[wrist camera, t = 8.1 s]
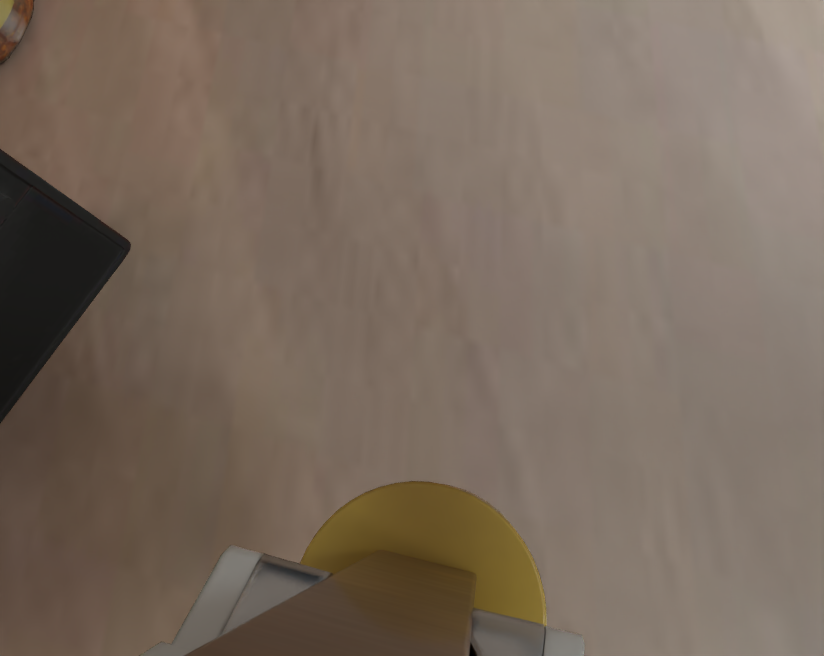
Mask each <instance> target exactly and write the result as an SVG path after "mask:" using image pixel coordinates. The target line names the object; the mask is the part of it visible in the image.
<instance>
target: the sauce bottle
mask: <svg viewBox="0 0 824 656" xmlns="http://www.w3.org/2000/svg"><path fill="white" fill-rule="evenodd" d="M33 2H34V0H0V63H2V62H3V61H5V60H7V59H8V58H9V57H10V54H11V53H12V52H13V50H14V49H15V48H16V46H17V45H18V44H19V42H20V40H21V39H22V37H23V34H24V32H25V30H26V29H27V27H28V24H29V22H30V20H31V18H32V13H33V10H34V4H33Z"/></svg>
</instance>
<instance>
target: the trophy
mask: <svg viewBox="0 0 824 656" xmlns="http://www.w3.org/2000/svg"><path fill="white" fill-rule="evenodd" d="M300 564H303V565H306V566H310V567H314V568H317V569H321V570H325V571H328V572H332V573H333V575H332V576H330V577H328V578H326V579H324V580H322V581H321V582H319V583H317V584H315V585H313V586H311V587H310V588H308V589H306V590H304V591H302V592H300V593H298V594H297V595H295V596H293V597H291V598H289V599H287V600H286V601H284V602H282V603H280V604H278V605H276V606H274V607H273V608H271V609H269V610H267V611H265V612H263V613H262V614H260V615H258V616H256V617H254V618H252V619H250V620H249V621H247V622H245V623H243V624H241V625H239V626H238V627H236V628H234V629H232V630H230V631H228V632H226V633H225V634H223V635H221V636H219V637H217V638H215V639H214V640H212V641H210V642H208V643H206V644H204V645H202V646H201V647H199V648H197V649H195V650H193V651H191V652H190V653H188V654H186V655H184V656H469V652H470V642H471V632H472V609H473V608H478V609H482V610H486V611H490V612H494V613H498V614H503V615H507V616H511V617H515V618H519V619H523V620H528V621H532V622H536V623H540V624H544V627H545V626H547V621H546V602H545V595H544V589H543V586H542V582H541V578H540V574H539V572H538V569H537V567H536V564H535V562H534V559H533V557H532V555H531V553H530V551H529V550H528V548H527V546H526V544H525V542H524V541H523V540H522V538H521V537H520V535H519V534H518V533H517V531H516V530H515V529H514V527H513V526H512V525H511V524H510V522H509V521H508V520H507V519H506V518H505V517H504V516H503V515H502V514H501V513H500V512H499V511H498V510H497V509H496V508H494V507H493V506H492V505H491V504H490V503H488V502H487V501H485V500H483V499H482V498H480V497H479V496H477V495H475V494H473V493H471V492H468V491H466V490H464V489H460V488H457V487H454V486H450V485H445V484H439V483H433V482H422V481H409V482H400V483H393V484H389V485H385V486H381V487H378V488H376V489H373V490H370V491H368V492H365V493H363V494H362V495H360V496H358V497H356V498H354V499H353V500H351V501H349V502H348V503H347V504H345V505H344V506H343V507H341V508H340V509H339V510H337V511H336V512H335V513H334V514H333V515H332V516H331V517H330V518H329V519H328V520H327V521H326V522H325V523H324V524H323V526H322V527H321V528H320V529H319V531H318V532H317V533H316V534H315V536H314V538H313V539H312V541H311V542H310V544H309V546H308V547H307V549H306V551H305V553H304V556H303V558H302V560H301V562H300Z"/></svg>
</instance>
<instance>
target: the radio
mask: <svg viewBox="0 0 824 656" xmlns="http://www.w3.org/2000/svg"><path fill="white" fill-rule="evenodd" d="M130 246H131V244H130V242H129V241H128V240H127V239H126V238H124V237H123V236H121V235H120V234H119V233H117V232H116V231H114V230H113V229H112V228H110V227H109V226H107V225H106V224H105V223H103V222H102V221H100V220H99V219H98V218H96V217H95V216H93V215H92V214H91V213H89V212H88V211H86V210H85V209H84V208H82V207H81V206H79V205H78V204H77V203H75V202H74V201H72V200H71V199H70V198H68V197H67V196H65V195H64V194H63V193H61V192H60V191H58V190H57V189H56V188H54V187H53V186H51V185H50V184H49V183H47V182H46V181H44V180H43V179H42V178H40V177H39V176H37V175H36V174H35V173H33V172H32V171H30V170H29V169H28V168H26V167H25V166H23V165H22V164H21V163H19V162H18V161H16V160H15V159H14V158H12V157H11V156H9V155H8V154H7V153H5V152H4V151H2V150H1V149H0V423H1V422H2V420H3V419H4V418H5V416H6V415H7V414H8V412H9V411H10V410H11V408H12V407H13V406H14V404H15V403H16V402H17V400H18V399H19V398H20V396H21V395H22V394H23V392H24V391H25V390H26V388H27V387H28V386H29V384H30V383H31V382H32V380H33V379H34V378H35V376H36V375H37V374H38V372H39V371H40V370H41V368H42V367H43V366H44V364H45V363H46V362H47V361H48V359H49V358H50V357H51V355H52V354H53V353H54V351H55V350H56V349H57V347H58V346H59V345H60V343H61V342H62V341H63V339H64V338H65V337H66V335H67V334H68V333H69V331H70V330H71V329H72V327H73V326H74V325H75V323H76V322H77V321H78V319H79V318H80V317H81V315H82V314H83V313H84V311H85V310H86V309H87V307H88V306H89V305H90V303H91V302H92V301H93V299H94V298H95V297H96V295H97V294H98V293H99V291H100V290H101V289H102V287H103V286H104V285H105V283H106V282H107V281H108V279H109V278H110V277H111V276H112V274H113V273H114V272H115V270H116V269H117V268H118V266H119V265H120V264H121V262H122V261H123V260H124V258H125V257H126V255H127V254H128V252H129V250H130Z"/></svg>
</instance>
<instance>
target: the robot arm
mask: <svg viewBox="0 0 824 656" xmlns="http://www.w3.org/2000/svg"><path fill="white" fill-rule="evenodd" d="M332 575H333V573H332V572H328V571H325V570H321V569H317V568H314V567H310V566H306V565H303V564H299V563H296V562H292V561H288V560H285V559H281V558H278V557H274V556H270V555H267V554H264V553H260V552H256V551H253V550H249V549H245V548H241V547H237V546H233V545H230V546H229V547H228V548H227V549H226V550H225V551H224V552H223V553H222V555H221V556H220V558H219V560H218V562H217V563H216V565H215V567H214V569H213V571H212V572H211V574H210V576H209V578H208V579H207V581H206V583H205V585H204V587H203V588H202V590H201V592H200V594H199V596H198V597H197V599H196V601H195V603H194V604H193V606H192V608H191V610H190V612H189V613H188V615H187V617H186V619H185V620H184V622H183V624H182V626H181V628H180V629H179V631H178V633H177V635H176V637H175V638H174V640H173V642H172V644H169V643H165V642H160V643H158V644H157V645H155V646H154V647H152V648H150V649H149V650H147V651H146V652H144V653H143V654H141V655H140V656H184V655H186V654H188V653H190V652H191V651H193V650H195V649H197V648H199V647H201V646H202V645H204V644H206V643H208V642H210V641H212V640H214V639H215V638H217V637H219V636H221V635H223V634H225V633H226V632H228V631H230V630H232V629H234V628H236V627H238V626H239V625H241V624H243V623H245V622H247V621H249V620H250V619H252V618H254V617H256V616H258V615H260V614H262V613H263V612H265V611H267V610H269V609H271V608H273V607H274V606H276V605H278V604H280V603H282V602H284V601H286V600H287V599H289V598H291V597H293V596H295V595H297V594H298V593H300V592H302V591H304V590H306V589H308V588H310V587H311V586H313V585H315V584H317V583H319V582H321V581H322V580H324V579H326V578H328V577H330V576H332ZM469 656H584V641H583V638H582V635H581V634H576V633H572V632H568V631H564V630H560V629H555V628H551V627H547V626H545V627H544V624H540V623H536V622H532V621H528V620H523V619H519V618H515V617H511V616H507V615H503V614H498V613H494V612H490V611H486V610H482V609H478V608H473V609H472V632H471V642H470V652H469Z"/></svg>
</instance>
